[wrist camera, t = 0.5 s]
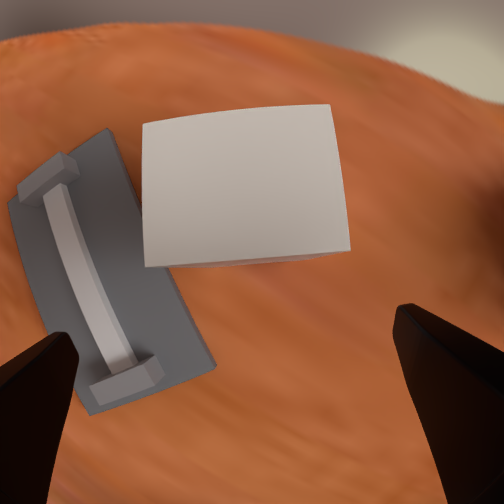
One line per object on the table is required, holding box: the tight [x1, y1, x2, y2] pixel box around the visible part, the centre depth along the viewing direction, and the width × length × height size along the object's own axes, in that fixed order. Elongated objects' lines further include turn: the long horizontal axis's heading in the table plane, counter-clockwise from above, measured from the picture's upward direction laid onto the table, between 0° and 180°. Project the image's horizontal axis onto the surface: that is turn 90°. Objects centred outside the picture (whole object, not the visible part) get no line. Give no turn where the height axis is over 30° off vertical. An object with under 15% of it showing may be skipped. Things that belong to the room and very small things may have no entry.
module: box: [142, 104, 351, 268], centre depth 16 cm, size 6×6×12 cm
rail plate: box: [7, 128, 217, 416], centre depth 21 cm, size 20×12×3 cm, turn 27°
